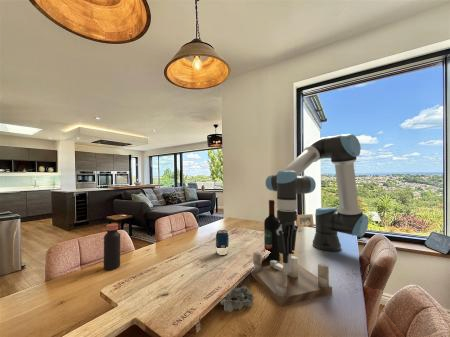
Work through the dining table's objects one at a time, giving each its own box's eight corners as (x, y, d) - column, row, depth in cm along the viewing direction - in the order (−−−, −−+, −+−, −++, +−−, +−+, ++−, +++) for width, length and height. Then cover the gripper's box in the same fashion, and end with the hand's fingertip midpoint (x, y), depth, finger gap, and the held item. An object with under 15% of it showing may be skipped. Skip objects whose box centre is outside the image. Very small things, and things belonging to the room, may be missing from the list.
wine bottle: (280, 263, 100) (279, 201, 100) (264, 261, 101) (264, 201, 102) (279, 256, 107) (278, 199, 108) (264, 255, 109) (264, 199, 109)
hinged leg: (268, 266, 90) (268, 250, 90) (273, 263, 92) (273, 248, 92) (294, 278, 79) (294, 260, 79) (300, 275, 81) (299, 258, 81)
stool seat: (294, 266, 96) (294, 246, 96) (333, 293, 75) (333, 267, 75) (250, 273, 89) (250, 252, 89) (279, 306, 68) (279, 277, 68)
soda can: (215, 251, 115) (215, 229, 115) (227, 250, 115) (227, 229, 116) (216, 256, 108) (216, 233, 108) (229, 255, 108) (229, 233, 109)
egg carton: (225, 315, 64) (224, 301, 64) (218, 300, 71) (218, 288, 71) (255, 307, 67) (255, 295, 67) (246, 294, 74) (246, 283, 74)
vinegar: (100, 270, 92) (100, 226, 93) (109, 264, 99) (109, 222, 100) (115, 270, 92) (115, 226, 93) (123, 264, 99) (123, 222, 99)
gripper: (287, 207, 87) (287, 262, 87) (268, 210, 79) (269, 272, 78) (303, 209, 82) (304, 268, 81) (285, 213, 73) (286, 279, 73)
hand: (287, 270), depth 80 cm, fingers closed
